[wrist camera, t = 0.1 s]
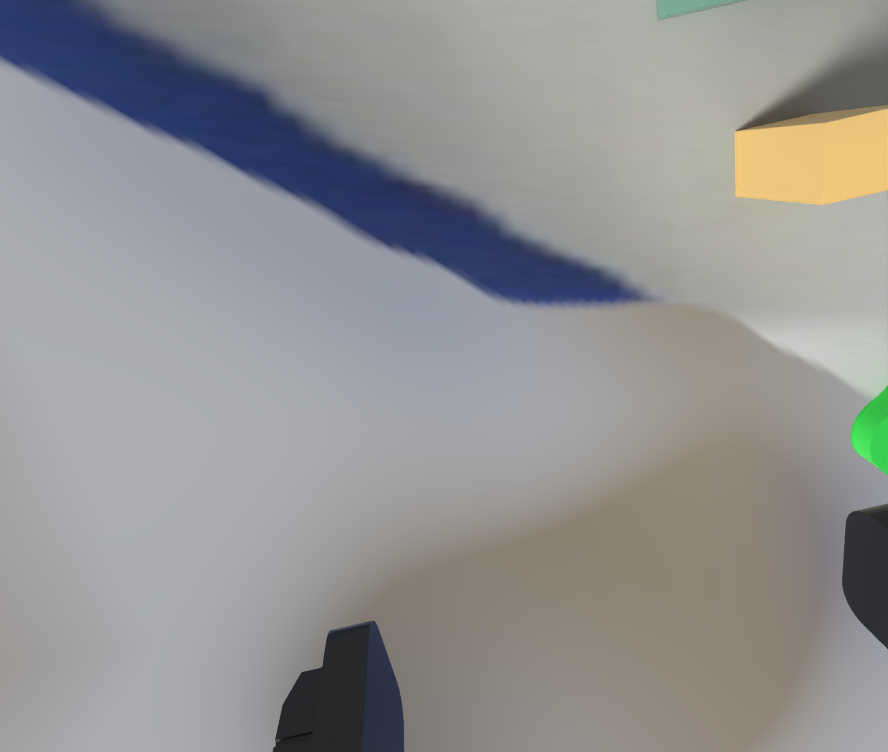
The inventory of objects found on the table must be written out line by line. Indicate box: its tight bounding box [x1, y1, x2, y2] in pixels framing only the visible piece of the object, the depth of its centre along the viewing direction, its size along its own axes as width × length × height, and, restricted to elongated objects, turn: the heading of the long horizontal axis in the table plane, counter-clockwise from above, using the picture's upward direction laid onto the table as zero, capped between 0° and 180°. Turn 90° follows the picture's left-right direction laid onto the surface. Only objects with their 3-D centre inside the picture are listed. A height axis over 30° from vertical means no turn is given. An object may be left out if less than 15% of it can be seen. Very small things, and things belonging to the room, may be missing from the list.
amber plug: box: [735, 105, 888, 205], centre depth 32 cm, size 4×5×8 cm
